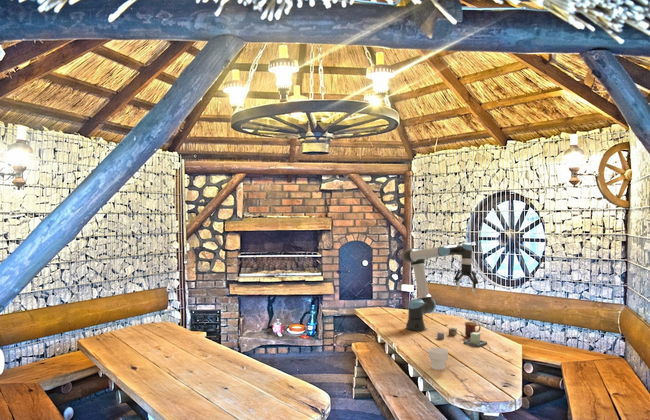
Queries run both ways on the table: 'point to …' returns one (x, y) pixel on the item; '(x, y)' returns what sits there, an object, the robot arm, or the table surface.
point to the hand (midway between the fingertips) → (465, 291)
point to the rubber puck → (440, 335)
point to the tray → (475, 343)
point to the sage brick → (475, 338)
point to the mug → (470, 328)
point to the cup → (438, 357)
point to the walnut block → (452, 331)
